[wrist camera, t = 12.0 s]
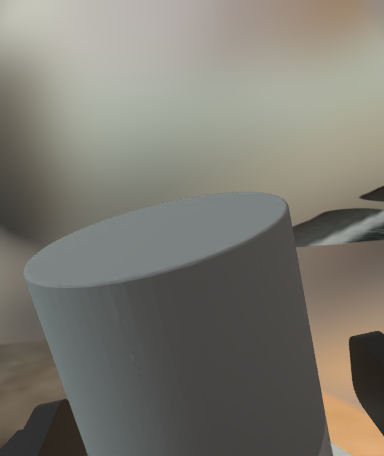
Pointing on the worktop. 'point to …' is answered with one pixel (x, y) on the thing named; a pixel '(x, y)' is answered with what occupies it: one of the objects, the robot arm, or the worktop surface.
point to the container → (184, 331)
